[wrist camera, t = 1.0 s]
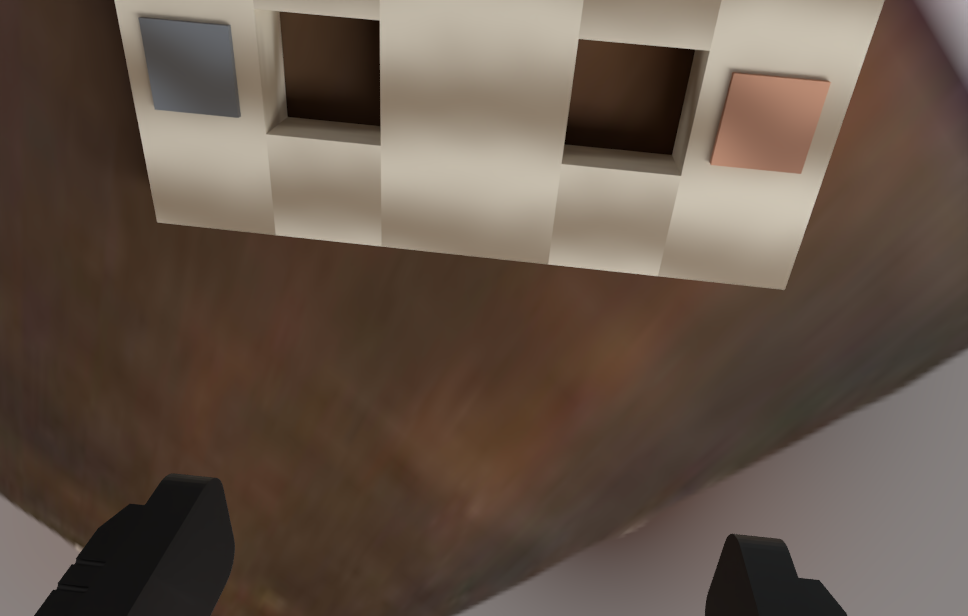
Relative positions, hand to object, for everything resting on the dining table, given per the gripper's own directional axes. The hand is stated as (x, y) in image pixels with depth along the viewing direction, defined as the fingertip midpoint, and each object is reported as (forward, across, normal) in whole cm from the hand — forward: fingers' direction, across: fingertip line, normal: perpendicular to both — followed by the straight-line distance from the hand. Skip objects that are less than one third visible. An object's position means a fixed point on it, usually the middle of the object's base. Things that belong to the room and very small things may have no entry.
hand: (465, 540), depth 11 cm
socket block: (+26, +2, -1) cm, 27 cm away
